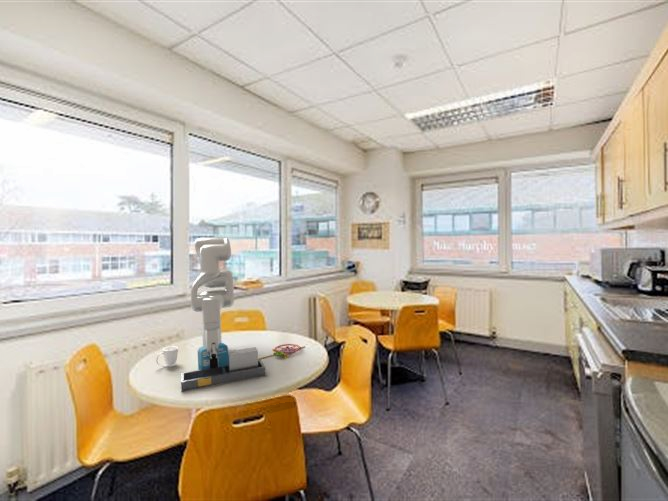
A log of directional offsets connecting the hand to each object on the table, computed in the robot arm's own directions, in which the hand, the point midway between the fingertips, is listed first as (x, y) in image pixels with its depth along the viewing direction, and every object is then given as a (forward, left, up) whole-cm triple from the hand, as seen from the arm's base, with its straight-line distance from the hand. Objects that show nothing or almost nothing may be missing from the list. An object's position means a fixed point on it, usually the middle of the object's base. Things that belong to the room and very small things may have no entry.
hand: (213, 364), depth 151 cm
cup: (-18, -19, -4) cm, 26 cm away
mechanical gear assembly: (-10, +33, -4) cm, 35 cm away
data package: (0, 0, -4) cm, 4 cm away
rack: (+9, +4, -3) cm, 11 cm away
